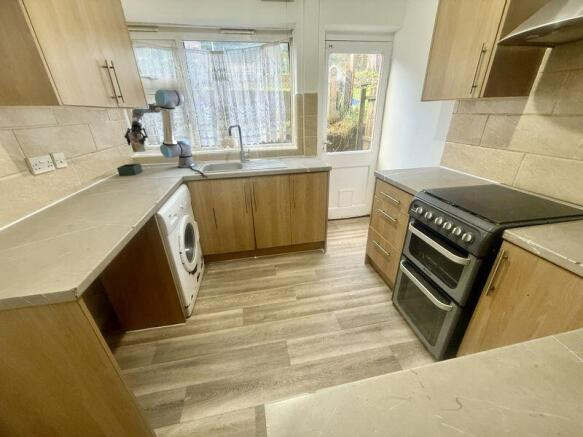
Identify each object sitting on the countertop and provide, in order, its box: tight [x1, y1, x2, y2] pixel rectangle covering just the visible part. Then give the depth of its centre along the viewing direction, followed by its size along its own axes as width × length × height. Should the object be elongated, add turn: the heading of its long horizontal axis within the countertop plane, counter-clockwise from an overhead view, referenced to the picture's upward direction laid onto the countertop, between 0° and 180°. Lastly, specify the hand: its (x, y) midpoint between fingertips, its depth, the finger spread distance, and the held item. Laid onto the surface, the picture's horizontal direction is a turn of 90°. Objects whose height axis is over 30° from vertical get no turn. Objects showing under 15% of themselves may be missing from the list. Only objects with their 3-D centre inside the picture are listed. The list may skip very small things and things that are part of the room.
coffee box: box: [128, 132, 146, 153], centre depth 212 cm, size 9×6×16 cm
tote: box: [116, 163, 143, 177], centre depth 209 cm, size 15×13×7 cm
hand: (136, 144), depth 209 cm, fingers closed on coffee box, 11 cm apart
